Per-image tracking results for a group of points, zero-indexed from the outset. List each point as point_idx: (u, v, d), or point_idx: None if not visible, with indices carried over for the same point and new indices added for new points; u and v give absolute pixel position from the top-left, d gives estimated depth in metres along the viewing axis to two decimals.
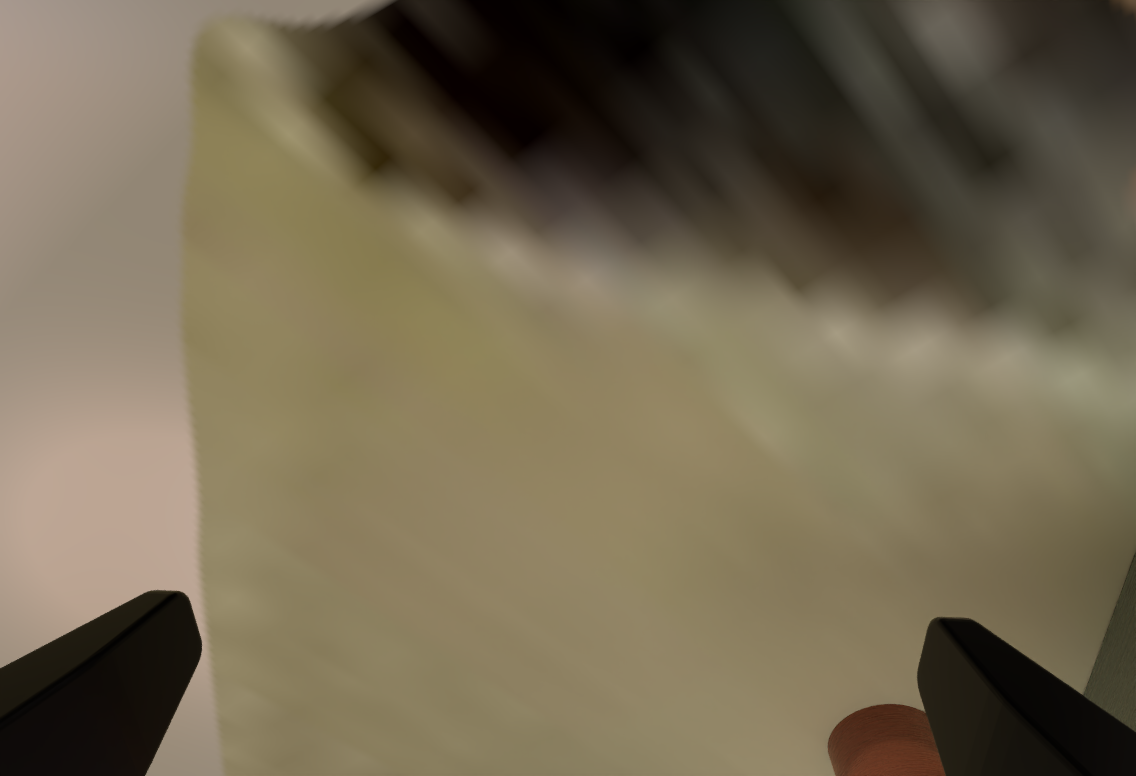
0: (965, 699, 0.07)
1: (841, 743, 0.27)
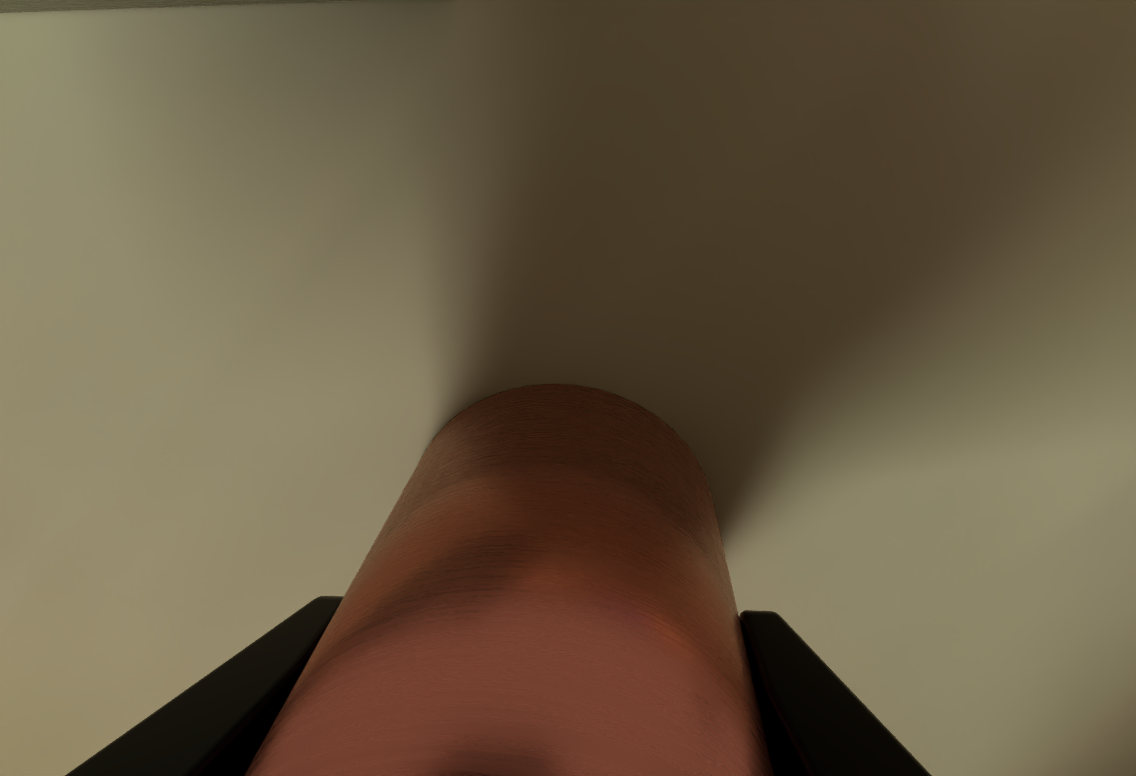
0: None
1: None
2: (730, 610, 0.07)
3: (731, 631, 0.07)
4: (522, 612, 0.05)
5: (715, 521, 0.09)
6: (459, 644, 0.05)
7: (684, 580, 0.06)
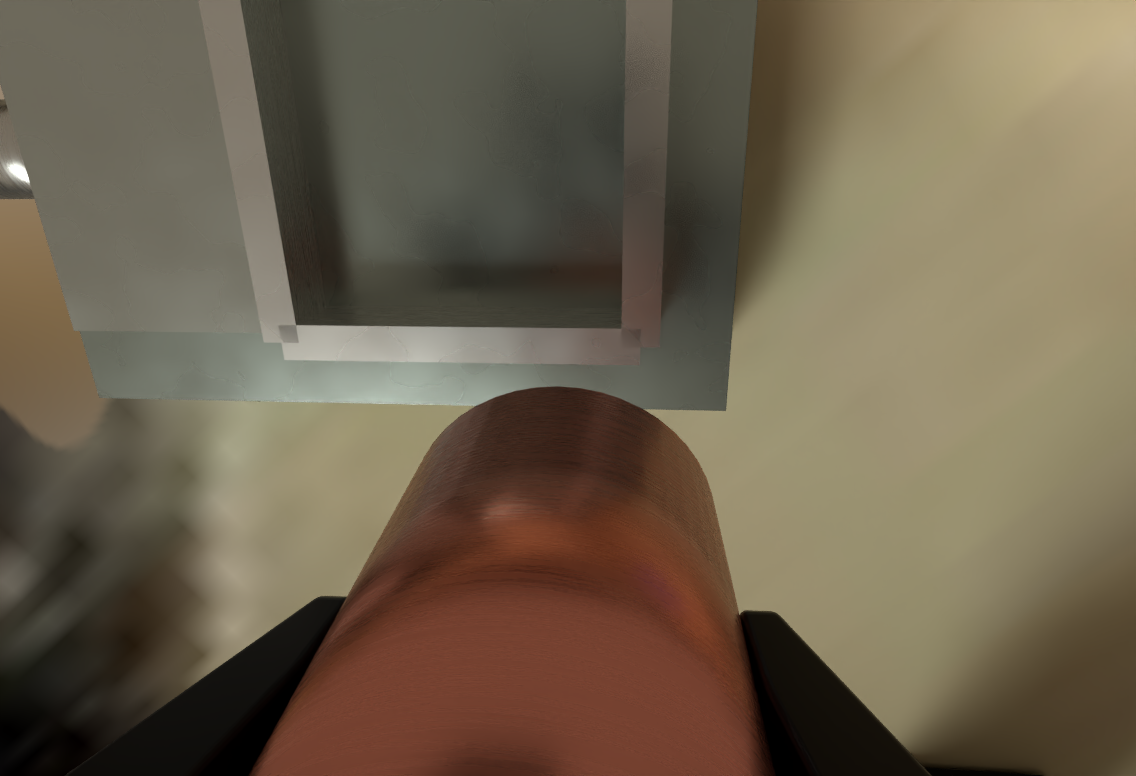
0: None
1: None
2: (732, 613, 0.07)
3: (733, 635, 0.07)
4: (525, 616, 0.05)
5: (717, 524, 0.09)
6: (461, 649, 0.05)
7: (687, 583, 0.06)
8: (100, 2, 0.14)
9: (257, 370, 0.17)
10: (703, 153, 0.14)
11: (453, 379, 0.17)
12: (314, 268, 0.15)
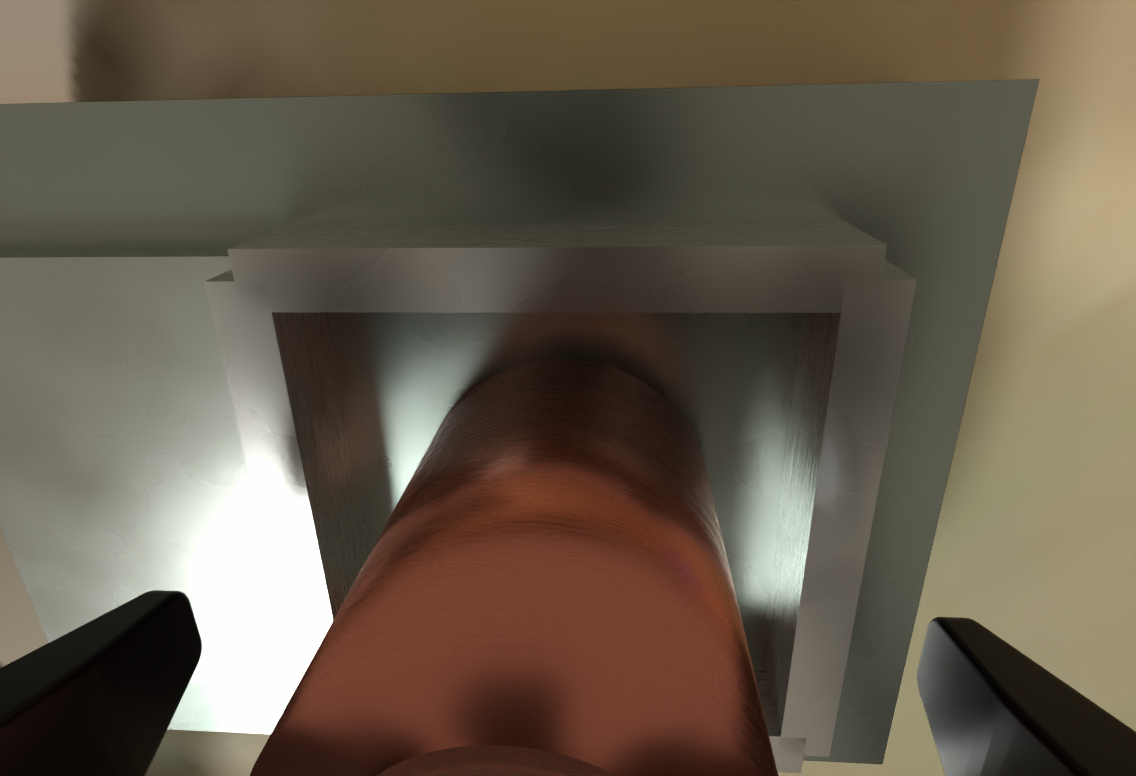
0: (965, 699, 0.07)
1: None
2: (720, 552, 0.08)
3: (720, 568, 0.07)
4: (540, 538, 0.06)
5: (708, 482, 0.10)
6: (486, 562, 0.06)
7: (679, 521, 0.07)
8: (87, 335, 0.10)
9: None
10: (885, 505, 0.11)
11: None
12: None
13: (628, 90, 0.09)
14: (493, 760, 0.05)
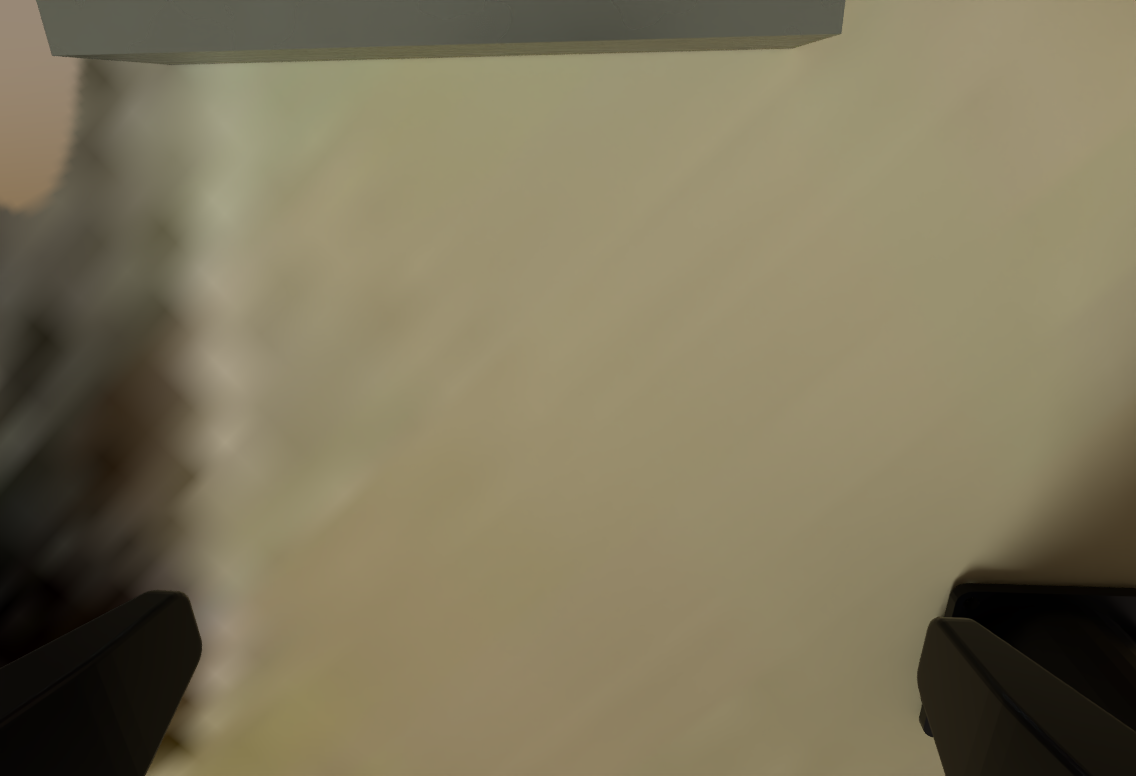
0: (965, 699, 0.07)
1: None
2: None
3: None
4: None
5: None
6: None
7: None
8: None
9: (250, 3, 0.13)
10: None
11: (496, 3, 0.13)
12: None
13: None
14: None
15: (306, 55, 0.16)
